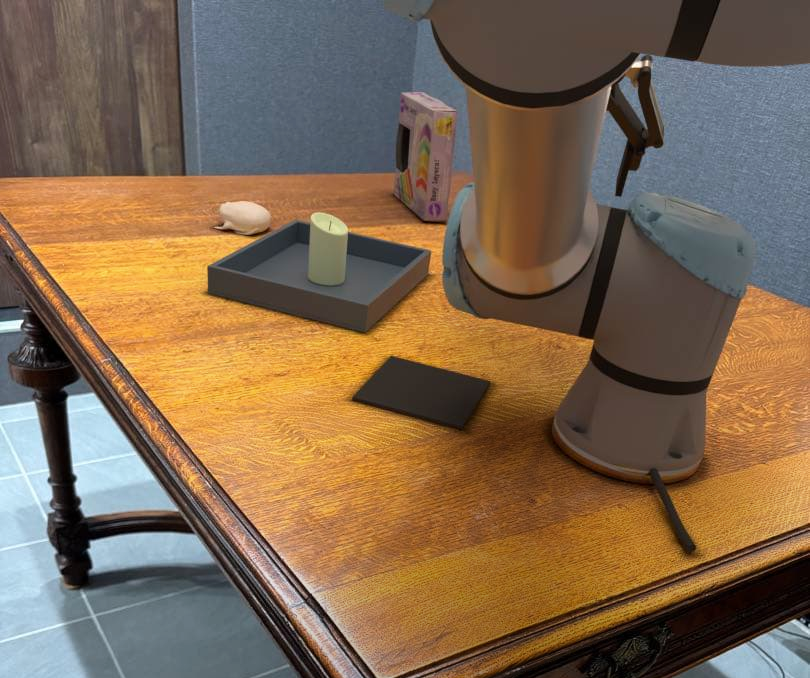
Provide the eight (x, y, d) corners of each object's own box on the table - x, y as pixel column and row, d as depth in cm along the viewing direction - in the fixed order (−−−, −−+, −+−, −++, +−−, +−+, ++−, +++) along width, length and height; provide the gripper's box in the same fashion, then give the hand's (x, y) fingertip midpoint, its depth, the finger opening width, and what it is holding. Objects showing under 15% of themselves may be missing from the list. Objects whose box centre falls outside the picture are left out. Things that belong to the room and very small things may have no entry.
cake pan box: (388, 192, 153) (399, 87, 143) (413, 193, 155) (426, 89, 144) (420, 223, 139) (434, 109, 129) (447, 224, 141) (463, 111, 130)
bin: (365, 333, 99) (367, 305, 97) (207, 293, 103) (206, 265, 101) (428, 274, 119) (431, 250, 117) (294, 243, 123) (295, 219, 121)
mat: (461, 429, 82) (462, 426, 82) (351, 400, 84) (352, 396, 84) (490, 384, 91) (490, 381, 91) (390, 358, 94) (391, 355, 93)
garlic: (209, 228, 124) (209, 202, 121) (230, 218, 129) (230, 193, 127) (257, 239, 122) (257, 213, 120) (276, 228, 128) (277, 203, 125)
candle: (351, 280, 111) (356, 219, 106) (330, 289, 108) (334, 225, 103) (322, 270, 113) (325, 209, 108) (300, 278, 110) (302, 216, 105)
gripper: (726, -4, 79) (667, 169, 99) (473, -24, 82) (465, 149, 101) (724, 50, 77) (664, 216, 96) (463, 27, 79) (457, 195, 98)
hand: (562, 182), depth 99 cm, fingers open, 13 cm apart
